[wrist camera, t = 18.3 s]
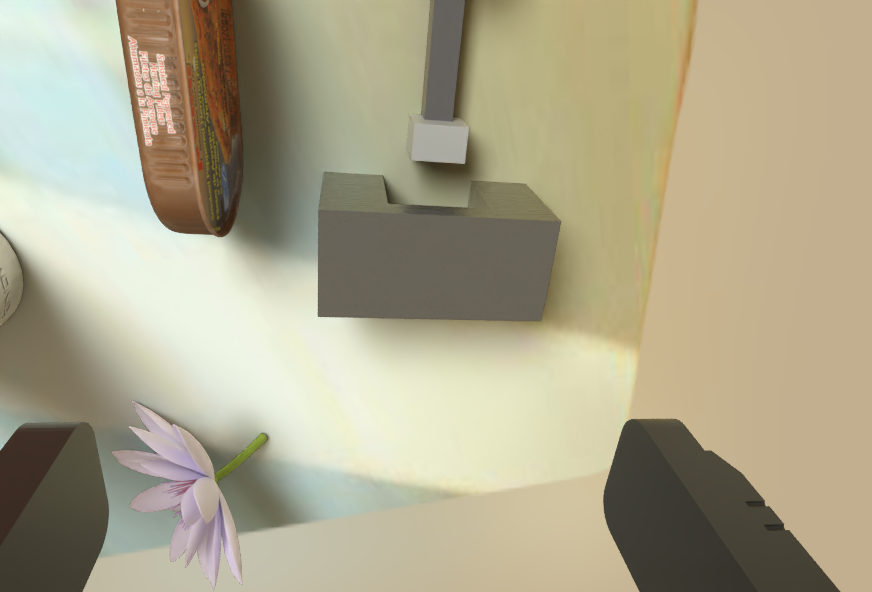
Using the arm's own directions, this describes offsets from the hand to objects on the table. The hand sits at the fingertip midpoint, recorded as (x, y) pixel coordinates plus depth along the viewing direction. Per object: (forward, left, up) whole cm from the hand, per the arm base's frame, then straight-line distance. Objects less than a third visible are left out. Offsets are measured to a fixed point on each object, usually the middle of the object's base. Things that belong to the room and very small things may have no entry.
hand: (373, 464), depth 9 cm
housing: (+5, -6, -28) cm, 29 cm away
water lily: (-11, -23, -28) cm, 38 cm away
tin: (-8, +2, -28) cm, 30 cm away
